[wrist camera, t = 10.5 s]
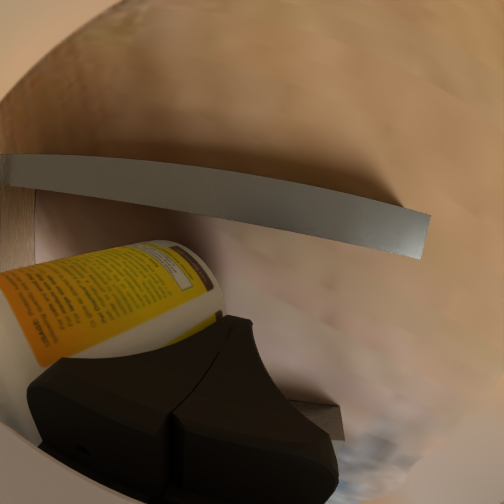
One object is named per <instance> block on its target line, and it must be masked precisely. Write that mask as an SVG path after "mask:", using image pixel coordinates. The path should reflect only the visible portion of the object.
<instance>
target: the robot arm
mask: <svg viewBox="0 0 504 504" xmlns="http://www.w3.org/2000/svg"><path fill="white" fill-rule="evenodd" d="M252 325H253V323H252V321H251V320H249V319H245V318H240V317H236V316H231V315H225V316H224V317H222V318H220V319H219V320H217V321H216V322H214V323H213V324H211V325H209V326H208V327H206V328H204V329H203V330H201V331H199V332H198V333H196V334H194V335H192V336H190V337H187V338H185V339H183V340H181V341H179V342H177V343H174V344H171V345H169V346H166V347H162V348H159V349H156V350H152V351H148V352H143V353H139V354H134V355H128V356H121V357H111V358H66V357H61V358H60V359H59V360H57V361H56V362H55V363H54V364H53V365H51V366H50V367H49V368H48V369H47V370H45V371H44V372H43V373H42V374H41V375H39V376H38V377H37V378H36V379H35V380H33V381H32V382H31V383H30V384H29V386H28V388H27V395H26V398H27V403H28V407H29V410H30V413H31V415H32V418H33V420H34V423H35V425H36V427H37V430H38V432H39V434H40V437H41V439H42V442H41V443H40V444H39V446H38V447H36V446H35V445H33V444H32V443H30V442H29V441H28V440H26V439H25V438H24V437H22V436H21V435H20V434H18V433H17V432H16V431H14V430H13V429H12V428H10V427H8V426H7V425H5V424H3V423H2V422H0V504H325V502H326V501H327V500H328V499H329V498H330V496H331V495H332V494H333V493H334V491H335V489H336V487H337V485H338V483H339V479H338V477H339V473H338V464H337V459H336V455H335V452H334V448H333V445H332V441H331V438H330V435H329V434H328V433H327V432H325V431H324V430H323V429H321V428H320V427H318V426H317V425H316V424H314V423H313V422H312V421H310V420H309V419H308V418H306V417H305V416H304V415H303V414H302V413H300V412H299V411H298V410H297V409H296V408H295V407H294V406H293V405H292V404H291V403H290V402H289V401H288V400H287V399H286V398H285V396H284V395H283V394H282V393H281V392H280V390H279V389H278V388H277V386H276V385H275V384H274V382H273V381H272V379H271V377H270V376H269V374H268V372H267V370H266V368H265V366H264V364H263V362H262V360H261V358H260V355H259V353H258V350H257V347H256V344H255V340H254V336H253V330H252ZM499 504H504V502H502V503H499Z"/></svg>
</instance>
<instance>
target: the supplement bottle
mask: <svg viewBox="0 0 504 504" xmlns="http://www.w3.org/2000/svg"><path fill="white" fill-rule="evenodd" d="M225 315H227V312H226V305H225V300H224V297H223V294H222V291H221V288H220V286H219V284H218V282H217V280H216V278H215V276H214V275H213V273H212V272H211V270H210V269H209V267H208V266H207V265H206V264H205V263H204V262H203V260H202V259H201V258H200V257H199V256H197V255H196V254H195V253H194V252H192V251H191V250H190V249H188V248H187V247H185V246H183V245H181V244H178V243H175V242H172V241H168V240H151V241H145V242H140V243H134V244H130V245H125V246H120V247H115V248H110V249H105V250H100V251H96V252H91V253H86V254H81V255H77V256H72V257H67V258H62V259H57V260H54V261H49V262H44V263H40V264H35V265H31V266H26V267H20V268H18V269H13V270H9V271H5V272H1V273H0V422H2V423H3V424H5V425H7V426H8V427H10V428H12V429H13V430H14V431H16V432H17V433H18V434H20V435H21V436H22V437H24V438H25V439H26V440H28V441H29V442H30V443H32V444H33V445H35V446H36V447H38V446H39V444H40V443H41V442H42V439H41V437H40V434H39V432H38V430H37V427H36V425H35V423H34V420H33V418H32V415H31V413H30V410H29V407H28V403H27V398H26V395H27V388H28V386H29V384H30V383H31V382H32V381H33V380H35V379H36V378H37V377H38V376H39V375H41V374H42V373H43V372H44V371H45V370H47V369H48V368H49V367H50V366H51V365H53V364H54V363H55V362H56V361H57V360H59V359H60V358H61V357H66V358H111V357H121V356H128V355H134V354H139V353H143V352H148V351H152V350H156V349H159V348H162V347H166V346H169V345H171V344H174V343H177V342H179V341H181V340H183V339H185V338H187V337H190V336H192V335H194V334H196V333H198V332H199V331H201V330H203V329H204V328H206V327H208V326H209V325H211V324H213V323H214V322H216V321H217V320H219V319H220V318H222V317H224V316H225Z"/></svg>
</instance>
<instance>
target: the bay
mask: <svg viewBox="0 0 504 504" xmlns="http://www.w3.org/2000/svg"><path fill="white" fill-rule="evenodd" d="M35 189H41V190H48V191H55V192H62V193H69V194H76V195H83V196H90V197H97V198H103V199H110V200H116V201H123V202H129V203H135V204H141V205H147V206H153V207H159V208H165V209H171V210H177V211H183V212H189V213H194V214H200V215H206V216H211V217H217V218H222V219H228V220H233V221H239V222H244V223H249V224H255V225H260V226H265V227H270V228H275V229H281V230H286V231H291V232H296V233H301V234H306V235H311V236H315V237H320V238H325V239H330V240H335V241H340V242H344V243H349V244H354V245H358V246H363V247H368V248H372V249H377V250H381V251H386V252H390V253H395V254H399V255H404V256H408V257H412V258H417V259H420V258H421V254H422V250H423V247H424V243H425V239H426V234H427V230H428V226H429V221H430V217H431V215H428V214H425V213H421V212H418V211H414V210H411V209H407V208H403V207H400V206H396V205H392V204H388V203H384V202H381V201H377V200H373V199H368V198H364V197H360V196H356V195H352V194H347V193H343V192H339V191H334V190H330V189H325V188H320V187H315V186H311V185H306V184H301V183H296V182H290V181H285V180H280V179H274V178H269V177H263V176H257V175H251V174H245V173H239V172H233V171H226V170H219V169H213V168H205V167H198V166H190V165H182V164H174V163H165V162H156V161H146V160H135V159H124V158H111V157H96V156H78V155H53V154H0V273H1V272H5V271H9V270H13V269H18V268H20V267H26V266H31V265H35V255H34V207H35ZM287 400H288V399H287ZM288 401H289V402H290V403H291V404H292V405H293V406H294V407H295V408H296V409H297V410H298V411H299V412H300V413H302V414H303V415H304V416H305V417H306V418H308V419H309V420H310V421H312V422H313V423H314V424H316V425H317V426H318V427H320V428H321V429H323V430H324V431H325V432H327V433H328V434H329V435H330V438H331V441H332V445H333V448H334V452H335V455H337V454H338V452H339V450H340V449H341V447H342V445H343V444H344V442H345V438H344V431H343V424H342V417H341V411H340V406H330V405H322V404H314V403H307V402H300V401H294V400H288Z"/></svg>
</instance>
